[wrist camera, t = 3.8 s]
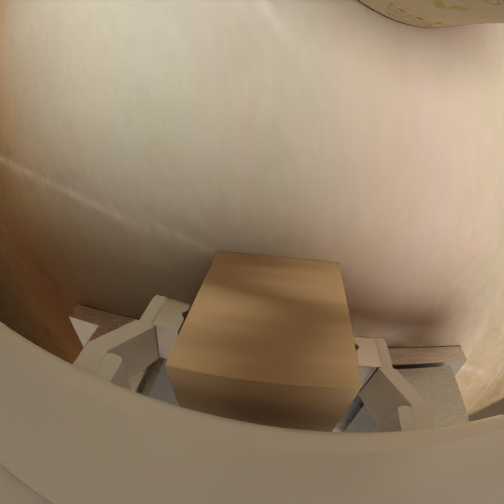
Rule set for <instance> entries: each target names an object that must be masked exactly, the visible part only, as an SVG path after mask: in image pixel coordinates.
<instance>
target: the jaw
mask: <svg viewBox="0 0 504 504" xmlns="http://www.w3.org/2000/svg"><path fill="white" fill-rule="evenodd" d="M396 370H397V371H398V372H399V373H400V374H401V375H402V376H403V377H404V378H405V379H406V380H407V381H408V382H409V384H410V385H411V386H412V387H413V388H414V389H415V390H416V391H417V392H418V393H419V394H420V395H421V397H422V398H423V399H424V400H425V401H426V402H427V403H428V404H429V408H430V412H431V417H432V421H433V425H434V428H437V427H444V426H450V425H456V424H462V423H467V422H469V420H468V416H467V413H466V409H465V406H464V403H463V400H462V397H461V394H460V391H459V388H458V385H457V382H456V379H455V376H454V374H453V371H452V368H451V366H442V367H429V368H411V369H396ZM376 427H378V425H377V423H376V422H375V420H374V419H373V417H372V416H371V414H370V413H369V411H368V409H367V408H366V406H365V405H363V407H362V408H361V410H360V411H359V412H358V414H357V415H356V416H355V418H354V419H353V420H352V422H351V423H350V424H349V426H348V427H347V428H346V430H345V431H344V432H372V431H373V430H374V429H375V428H376Z"/></svg>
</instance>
